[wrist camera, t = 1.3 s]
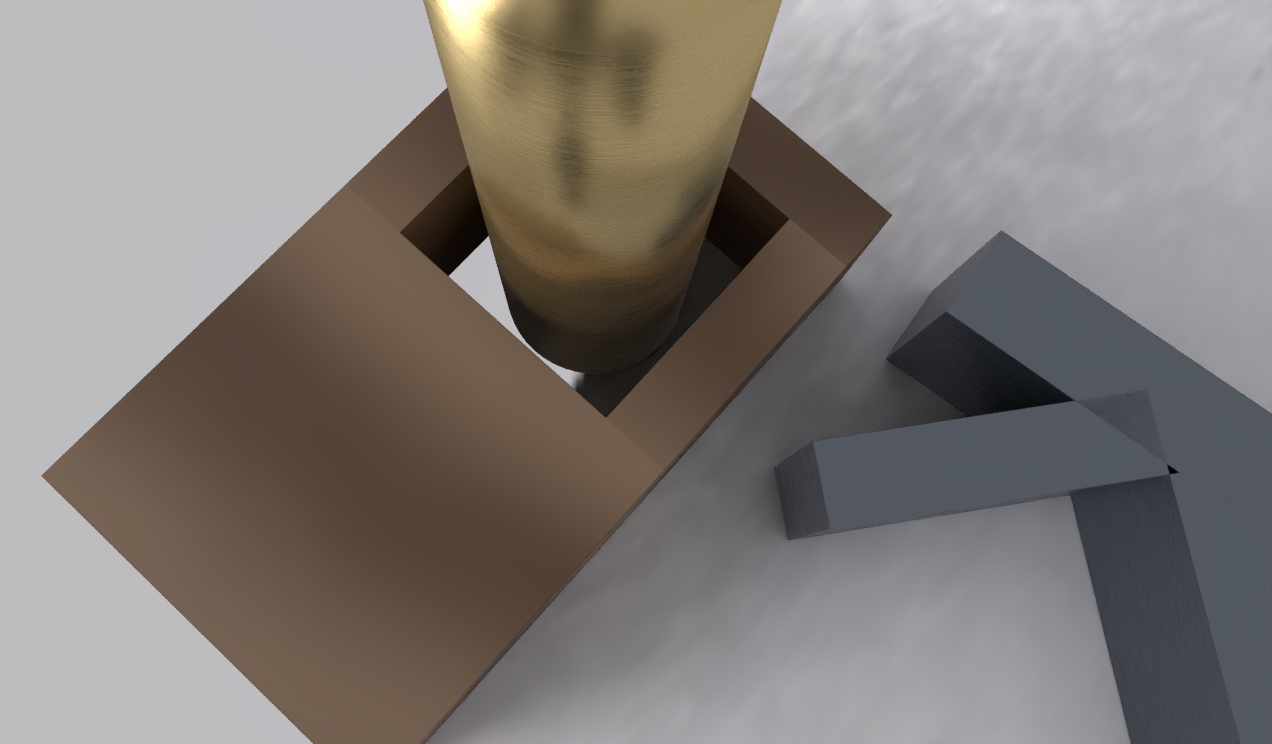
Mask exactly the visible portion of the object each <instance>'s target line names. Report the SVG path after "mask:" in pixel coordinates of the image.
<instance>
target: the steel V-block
mask: <svg viewBox="0 0 1272 744" xmlns="http://www.w3.org/2000/svg"><path fill="white" fill-rule="evenodd" d="M886 359H888V360H889V361H891V362H892V363H894V364H895V365H896V366H898V367H899V368H901V369H902V370H904V371H905V372H906V373H908V374H909V375H911V376H912V377H914V378H915V379H916V380H918V381H919V382H921V383H922V384H924V385H925V386H926V387H928V388H929V389H931V390H932V391H934V392H935V393H936V394H938V395H939V396H941V397H942V398H944V399H945V400H946V401H948V402H949V403H951V404H952V405H954V406H955V407H956V408H958V409H959V410H961V411H962V412H964V413H965V414H967V415H968V416H969V417H967V418H960V419H954V420H947V421H941V422H934V423H928V424H921V425H915V426H908V427H902V428H895V429H889V430H882V431H876V432H869V433H863V434H856V435H850V436H843V437H837V438H830V439H824V440H817V441H813V442H811V443H810V444H808V445H807V446H805V447H804V448H802V449H801V450H799V451H798V452H796V453H795V454H793V455H792V456H791V457H789V458H788V459H786V460H785V461H783V462H782V463H780V464H779V465H777V466H776V467H775V472H776V478H777V483H778V488H779V494H780V499H781V504H782V510H783V515H784V520H785V526H786V531H787V537H788V540H793V539H799V538H805V537H812V536H818V535H824V534H830V533H836V532H843V531H849V530H855V529H861V528H867V527H874V526H880V525H886V524H892V523H898V522H905V521H911V520H917V519H923V518H929V517H936V516H942V515H948V514H954V513H961V512H967V511H973V510H979V509H985V508H992V507H998V506H1004V505H1010V504H1016V503H1023V502H1029V501H1035V500H1041V499H1047V498H1054V497H1060V496H1066V495H1071V498H1072V502H1073V506H1074V510H1075V515H1076V519H1077V523H1078V527H1079V531H1080V535H1081V539H1082V543H1083V547H1084V552H1085V556H1086V560H1087V564H1088V568H1089V572H1090V576H1091V580H1092V584H1093V588H1094V593H1095V597H1096V601H1097V605H1098V609H1099V613H1100V617H1101V621H1102V625H1103V630H1104V634H1105V638H1106V642H1107V646H1108V650H1109V654H1110V658H1111V662H1112V667H1113V671H1114V675H1115V679H1116V683H1117V687H1118V691H1119V695H1120V699H1121V704H1122V708H1123V712H1124V716H1125V720H1126V724H1127V728H1128V732H1129V736H1130V740H1131V744H1272V414H1271V413H1270V412H1268V411H1267V410H1265V409H1264V408H1262V407H1261V406H1259V405H1258V404H1256V403H1255V402H1253V401H1252V400H1251V399H1249V398H1248V397H1246V396H1245V395H1243V394H1242V393H1240V392H1239V391H1237V390H1236V389H1234V388H1233V387H1231V386H1230V385H1228V384H1227V383H1225V382H1224V381H1223V380H1221V379H1220V378H1218V377H1217V376H1215V375H1214V374H1212V373H1211V372H1209V371H1208V370H1206V369H1205V368H1203V367H1202V366H1200V365H1199V364H1197V363H1196V362H1195V361H1193V360H1192V359H1190V358H1189V357H1187V356H1186V355H1184V354H1183V353H1181V352H1180V351H1178V350H1177V349H1175V348H1174V347H1172V346H1171V345H1169V344H1168V343H1166V342H1165V341H1164V340H1162V339H1161V338H1159V337H1158V336H1156V335H1155V334H1153V333H1152V332H1150V331H1149V330H1147V329H1146V328H1144V327H1143V326H1141V325H1140V324H1138V323H1137V322H1136V321H1134V320H1133V319H1131V318H1130V317H1128V316H1127V315H1125V314H1124V313H1122V312H1121V311H1119V310H1118V309H1116V308H1115V307H1113V306H1112V305H1110V304H1109V303H1107V302H1106V301H1105V300H1103V299H1102V298H1100V297H1099V296H1097V295H1096V294H1094V293H1093V292H1091V291H1090V290H1088V289H1087V288H1085V287H1084V286H1082V285H1081V284H1079V283H1078V282H1077V281H1075V280H1074V279H1072V278H1071V277H1069V276H1068V275H1066V274H1065V273H1063V272H1062V271H1060V270H1059V269H1057V268H1056V267H1054V266H1053V265H1051V264H1050V263H1049V262H1047V261H1046V260H1044V259H1043V258H1041V257H1040V256H1038V255H1037V254H1035V253H1034V252H1032V251H1031V250H1029V249H1028V248H1026V247H1025V246H1023V245H1022V244H1020V243H1019V242H1018V241H1016V240H1015V239H1013V238H1012V237H1010V236H1009V235H1007V234H1006V233H1004V232H1003V231H1000V232H999V233H998V234H997V235H995V236H994V237H993V238H992V239H991V240H990V241H989V242H987V243H986V244H985V245H984V246H983V247H982V248H981V249H980V250H978V251H977V252H976V253H975V254H974V255H973V256H972V257H970V258H969V259H968V260H967V261H966V262H965V263H964V264H963V265H961V266H960V267H959V268H958V269H957V270H956V271H955V272H953V273H952V274H951V275H950V276H949V277H948V278H947V279H945V280H944V281H943V282H942V283H941V284H940V285H939V286H938V287H936V288H935V289H934V290H933V291H932V293H931V294H930V296H929V297H928V299H927V300H926V302H925V303H924V305H923V306H922V307H921V309H920V310H919V312H918V313H917V315H916V316H915V318H914V319H913V321H912V322H911V323H910V325H909V326H908V328H907V329H906V331H905V332H904V334H903V335H902V337H901V338H900V339H899V341H898V342H897V344H896V345H895V347H894V348H893V350H892V351H891V353H890V354H889V355H888V357H887V358H886Z"/></svg>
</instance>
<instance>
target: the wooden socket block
mask: <svg viewBox="0 0 1272 744" xmlns="http://www.w3.org/2000/svg"><path fill="white" fill-rule="evenodd" d="M891 216H892V214H890V213H889V212H888V211H887V210H886V209H884V208H883V207H882V206H881V205H880V204H878V203H877V202H876V201H875V200H874V199H872V198H871V197H870V196H869V195H868V194H866V193H865V192H864V191H863V190H862V189H860V188H859V187H858V186H857V185H856V184H854V183H853V182H852V181H851V180H850V179H848V178H847V177H846V176H845V175H844V174H843V173H841V172H840V171H839V170H838V169H837V168H835V167H834V166H833V165H832V164H831V163H829V162H828V161H827V160H826V159H825V158H823V157H822V156H821V155H820V154H819V153H817V152H816V151H815V150H814V149H813V148H811V147H810V146H809V145H808V144H807V143H805V142H804V141H803V140H802V139H801V138H800V137H798V136H797V135H796V134H795V133H794V132H792V131H791V130H790V129H789V128H788V127H786V126H785V125H784V124H783V123H782V122H780V121H779V120H778V119H777V118H776V117H774V116H773V115H772V114H771V113H770V112H768V111H767V110H766V109H765V108H764V107H762V106H761V105H760V104H759V103H758V102H756V101H755V100H754V99H753V98H752V97H750V100H749V103H748V106H747V109H746V112H745V115H744V118H743V121H742V124H741V127H740V130H739V134H738V137H737V140H736V143H735V146H734V149H733V152H732V155H731V158H730V161H729V164H728V167H727V170H726V173H725V176H724V180H723V183H722V186H721V189H720V192H719V195H718V198H717V201H716V204H715V207H714V210H713V213H712V216H711V219H710V222H709V226H708V229H707V232H706V235H705V237H706V238H708V239H709V240H710V241H711V242H712V243H713V244H715V245H716V246H717V247H718V248H719V249H720V250H722V251H723V252H724V253H725V254H726V255H727V256H728V257H730V258H731V259H732V260H733V261H734V262H735V263H737V264H738V265H739V266H740V267H741V268H742V269H743V270H742V271H741V272H740V273H739V274H738V276H737V277H736V278H735V279H734V280H733V281H732V282H731V283H730V284H729V285H728V286H727V287H726V289H725V290H724V291H723V292H722V293H721V294H720V295H719V296H718V297H717V298H716V299H715V300H714V302H713V303H712V304H711V305H710V306H709V307H708V308H707V309H706V310H705V311H704V312H703V313H702V315H701V316H700V317H699V318H698V319H697V320H696V321H695V322H694V323H693V324H692V325H691V326H690V328H689V329H688V330H687V331H686V332H685V333H684V334H683V335H682V336H681V337H680V338H679V339H678V341H677V342H676V343H675V344H674V345H673V346H672V347H671V348H670V349H669V350H668V351H667V352H666V354H665V355H664V356H663V357H662V358H661V359H660V360H659V361H658V362H657V363H656V364H655V365H654V367H653V368H652V369H651V370H650V371H649V372H648V373H647V374H646V375H645V376H644V377H643V378H642V380H641V381H640V382H639V383H638V384H637V385H636V386H635V387H634V388H633V389H632V390H631V391H630V393H629V394H628V395H627V396H626V397H625V398H624V399H623V400H622V401H621V402H620V403H619V404H618V406H617V407H616V408H615V409H614V410H613V411H612V412H611V413H610V414H609V415H608V416H607V417H606V418H605V417H604V416H603V415H602V414H601V413H600V412H599V411H598V410H596V409H595V408H594V407H593V406H592V405H591V404H590V403H589V402H588V401H586V400H585V399H584V398H583V397H582V396H581V395H580V394H579V393H578V392H576V391H575V390H574V389H573V388H572V387H571V386H570V385H569V384H568V383H566V382H565V381H564V380H563V379H562V378H561V377H560V376H559V375H557V374H556V373H555V372H554V371H553V370H552V369H551V368H550V367H549V366H547V365H546V364H545V363H544V362H543V361H542V360H541V359H540V358H539V357H537V356H536V355H535V354H534V353H533V352H532V351H531V350H530V349H528V348H527V347H526V346H525V345H524V344H523V343H522V342H521V341H520V340H519V339H517V338H516V337H515V336H514V335H513V334H512V333H511V332H510V331H509V330H507V329H506V328H505V327H504V326H503V325H502V324H501V323H500V322H499V321H497V320H496V319H495V318H494V317H493V316H492V315H491V314H490V313H489V312H487V311H486V310H485V309H484V308H483V307H482V306H481V305H479V303H477V302H476V301H475V300H474V299H473V298H472V297H471V296H470V295H468V294H467V293H466V292H465V291H464V290H463V289H462V288H461V287H460V286H458V285H457V284H456V283H455V282H454V281H453V280H452V279H451V278H450V277H448V276H449V275H450V274H451V273H452V272H453V271H454V270H455V269H456V268H457V267H458V266H459V265H460V264H461V263H462V262H463V261H464V260H465V259H466V258H467V257H468V256H469V255H470V254H471V253H472V252H473V251H474V250H475V249H476V248H477V247H478V246H479V245H480V244H481V243H482V242H483V241H484V240H485V239H486V238H487V237H488V236H489V234H488V231H487V227H486V224H485V220H484V217H483V213H482V209H481V206H480V202H479V199H478V195H477V191H476V188H475V184H474V181H473V177H472V173H471V170H470V166H469V163H468V159H467V156H466V152H465V148H464V145H463V141H462V138H461V134H460V130H459V127H458V123H457V120H456V116H455V112H454V109H453V105H452V102H451V98H450V95H449V91H448V87H447V89H445V90H444V91H443V92H442V93H441V94H440V95H439V96H438V97H437V98H436V99H435V100H434V101H433V102H432V103H431V104H430V105H429V106H428V107H426V108H425V109H424V110H423V111H422V112H421V113H420V114H419V115H418V116H417V117H416V118H415V119H414V120H413V121H412V122H411V123H410V124H409V125H408V126H407V127H406V128H404V129H403V130H402V131H401V132H400V133H399V134H398V135H397V136H396V137H395V138H394V139H393V140H392V141H391V142H390V143H389V144H388V145H387V146H386V147H385V148H384V149H382V150H381V151H380V152H379V154H377V155H376V156H375V157H374V158H373V159H372V160H371V161H370V162H369V163H368V164H367V165H366V166H365V167H364V168H363V169H362V170H361V171H359V172H358V173H357V174H356V175H355V176H354V177H353V178H352V179H351V180H350V181H349V182H348V183H347V184H346V185H345V186H344V187H343V188H342V189H341V190H340V191H339V192H338V193H337V194H335V195H334V196H333V197H332V198H331V199H330V200H329V201H328V202H327V203H326V204H325V205H324V206H323V207H322V208H321V209H320V210H319V211H318V212H317V213H316V214H314V215H313V216H312V217H311V218H310V219H309V220H308V221H307V222H306V223H305V224H304V225H303V226H302V227H301V228H300V229H299V230H298V231H297V232H296V233H295V234H294V235H293V236H291V237H290V238H289V239H288V241H286V242H285V243H284V244H283V245H282V246H281V247H280V248H279V249H278V250H277V251H276V252H275V253H274V254H273V255H272V256H271V257H270V258H269V259H268V260H266V261H265V262H264V263H263V264H262V265H261V266H260V267H259V268H258V269H257V270H256V271H255V272H254V273H253V274H252V275H251V276H250V277H249V278H248V279H247V280H245V282H243V283H242V284H241V285H240V286H239V287H238V288H237V289H236V290H235V291H234V292H233V293H232V294H231V295H230V296H229V297H228V298H227V299H226V300H225V301H224V302H222V303H221V304H220V305H219V306H218V307H217V308H216V309H215V310H214V311H213V312H212V313H211V314H210V315H209V316H208V317H207V318H206V319H205V320H204V321H203V322H202V323H200V324H199V325H198V326H197V327H196V328H195V329H194V330H193V331H192V332H191V333H190V334H189V335H188V336H187V337H186V338H185V339H184V340H183V341H182V342H181V343H180V344H179V345H177V346H176V347H175V348H174V349H173V350H172V351H171V352H170V353H169V354H168V355H167V356H166V357H165V358H164V359H163V360H162V361H161V362H160V363H159V364H158V365H157V366H156V367H155V368H153V370H151V371H150V372H149V373H148V374H147V375H146V376H145V377H144V378H143V379H142V380H141V381H140V382H139V383H138V384H137V385H136V386H135V387H134V388H133V389H132V390H130V391H129V392H128V393H127V394H126V395H125V396H124V397H123V398H122V399H121V400H120V401H119V402H118V403H117V404H116V405H115V406H114V407H113V408H112V409H111V410H109V412H107V413H106V414H105V415H104V416H103V417H102V418H101V419H100V420H99V421H98V422H97V423H96V424H95V425H94V426H93V427H92V428H91V429H90V430H89V431H88V432H86V433H85V434H84V435H83V436H82V438H80V439H79V440H78V441H77V442H76V443H75V444H74V445H73V446H72V447H71V448H70V449H69V450H68V451H67V452H66V453H65V454H63V455H62V456H61V457H60V458H59V459H58V460H57V461H56V462H55V463H54V464H53V465H52V466H51V467H50V468H49V469H48V470H47V471H46V472H45V473H44V474H43V475H42V477H43V478H44V479H45V480H46V481H47V482H48V483H49V484H50V485H51V486H52V487H53V488H54V489H55V490H56V491H57V492H58V493H59V494H60V495H61V496H62V497H63V498H64V499H65V500H66V501H67V502H69V504H71V505H72V506H73V507H74V508H75V509H76V510H77V511H78V512H79V513H80V514H81V515H82V516H83V517H84V518H85V519H86V520H87V521H88V522H89V523H90V524H91V525H92V526H93V527H94V528H95V529H96V530H97V531H98V532H99V533H100V534H101V535H102V536H103V537H104V538H105V539H106V540H107V541H108V542H109V543H110V544H111V545H113V547H114V548H115V549H116V550H117V551H118V552H119V553H120V554H121V555H122V556H123V557H124V558H125V559H126V560H127V561H128V562H130V564H131V565H132V566H133V567H134V568H135V569H137V570H138V571H139V572H140V573H141V574H142V575H143V576H144V577H145V578H146V579H147V580H148V581H149V582H150V583H151V584H152V585H153V586H154V587H155V588H156V589H157V590H158V591H159V592H160V593H161V594H162V595H163V596H164V597H165V598H166V599H167V600H168V601H169V602H170V603H171V604H172V605H173V606H174V607H175V608H176V609H177V610H178V611H179V612H180V613H181V614H182V615H183V616H184V617H185V618H186V619H187V620H188V621H189V622H190V623H191V624H192V625H193V626H194V627H195V628H196V629H197V630H198V631H199V632H201V634H202V635H204V636H205V637H206V638H207V639H208V640H209V641H210V642H211V643H212V644H213V645H214V646H215V647H216V648H217V649H218V650H219V651H220V652H221V653H222V654H223V655H224V656H225V657H226V658H227V659H228V660H229V661H230V662H231V663H232V664H233V665H234V666H235V667H236V668H237V669H238V670H239V671H240V672H241V673H242V674H243V675H244V676H245V677H246V678H247V679H248V680H249V681H250V682H251V683H252V684H253V685H254V686H255V687H256V688H257V689H258V690H259V691H260V692H262V694H263V695H264V696H266V697H267V699H268V700H269V701H271V702H272V703H273V704H274V705H275V706H276V707H277V708H278V709H279V710H280V711H281V712H282V713H283V714H284V715H285V716H286V717H287V718H288V719H289V720H290V721H291V722H292V723H293V724H294V725H295V726H296V727H297V728H298V729H299V730H300V731H301V732H302V733H303V734H304V735H305V736H306V737H307V738H308V739H309V740H310V741H311V742H312V743H313V744H425V743H426V742H427V741H428V740H429V738H430V737H431V736H432V735H433V734H434V733H435V732H436V731H437V729H438V728H439V727H440V726H441V725H442V724H443V723H444V722H445V721H446V719H447V718H448V717H449V716H450V715H451V714H452V713H453V712H454V710H455V709H456V708H457V707H458V706H459V705H460V704H461V703H462V702H463V700H464V699H465V698H466V697H467V696H468V695H469V694H470V693H471V692H472V690H473V689H474V688H475V687H476V686H477V685H478V684H479V683H480V681H481V680H482V679H483V678H484V677H485V676H486V675H487V674H488V673H489V671H490V670H491V669H492V668H493V667H494V666H495V665H496V664H497V662H498V661H499V660H500V659H501V658H502V657H503V656H504V655H505V654H506V652H507V651H508V650H509V649H510V648H511V647H512V646H513V645H514V644H515V642H516V641H517V640H518V639H519V638H520V637H521V636H522V635H523V633H524V632H525V631H526V630H527V629H528V628H529V627H530V626H531V625H532V623H533V622H534V621H535V620H536V619H537V618H538V617H539V616H540V614H541V613H542V612H543V611H544V610H545V609H546V608H547V607H548V606H549V604H550V603H551V602H552V601H553V600H554V599H555V598H556V597H557V596H558V594H559V593H560V592H561V591H562V590H563V589H564V588H565V587H566V585H567V584H568V583H569V582H570V581H571V580H572V579H573V578H574V577H575V575H576V574H577V573H578V572H579V571H580V570H581V569H582V568H583V566H584V565H585V564H586V563H587V562H588V561H589V560H590V559H591V558H592V556H593V555H594V554H595V553H596V552H597V551H598V550H599V549H600V548H601V546H602V545H603V544H604V543H605V542H606V541H607V540H608V539H609V537H610V536H611V535H612V534H613V533H614V532H615V531H616V530H617V529H618V527H619V526H620V525H621V524H622V523H623V522H624V521H625V520H626V518H627V517H628V516H629V515H630V514H631V513H632V512H633V511H634V510H635V508H636V507H637V506H638V505H639V504H640V503H641V502H642V501H643V499H644V498H645V497H646V496H647V495H648V494H649V493H650V492H651V491H652V489H653V488H654V487H655V486H656V485H657V484H658V483H659V482H660V481H661V479H662V478H663V477H664V476H665V475H666V474H667V473H668V472H669V470H670V469H671V468H672V467H673V466H674V465H675V464H676V463H677V462H678V460H679V459H680V458H681V457H682V456H683V455H684V454H685V453H686V451H687V450H688V449H689V448H690V447H691V446H692V445H693V444H694V443H695V441H696V440H697V439H698V438H699V437H700V436H701V435H702V434H703V433H704V431H705V430H706V429H707V428H708V427H709V426H710V425H711V424H712V422H713V421H714V420H715V419H716V418H717V417H718V416H719V415H720V414H721V412H722V411H723V410H724V409H725V408H726V407H727V406H728V405H729V403H730V402H731V401H732V400H733V399H734V398H735V397H736V396H737V395H738V393H739V392H740V391H741V390H742V389H743V388H744V387H745V386H746V385H747V383H748V382H749V381H750V380H751V379H752V378H753V377H754V376H755V374H756V373H757V372H758V371H759V370H760V369H761V368H762V367H763V366H764V364H765V363H766V362H767V361H768V360H769V359H770V358H771V357H772V355H773V354H774V353H775V352H776V351H777V350H778V349H779V348H780V347H781V345H782V344H783V343H784V342H785V341H786V340H787V339H788V338H789V337H790V335H791V334H792V333H793V332H794V331H795V330H796V329H797V328H798V326H799V325H800V324H801V323H802V322H803V321H804V320H805V319H806V318H807V316H808V315H809V314H810V313H811V312H812V311H813V310H814V309H815V307H816V306H817V305H818V304H819V303H820V302H821V301H822V300H823V299H824V297H825V296H826V295H827V294H828V293H829V292H830V291H831V290H832V289H833V287H834V286H835V285H836V284H837V283H838V282H839V281H840V280H841V278H842V277H843V276H844V275H845V274H846V272H847V271H848V270H849V269H850V267H851V266H852V265H853V264H854V262H855V261H856V260H857V259H858V257H859V256H860V255H861V254H862V252H863V251H864V250H865V249H866V247H867V246H868V245H869V244H870V242H871V241H872V240H873V239H874V237H875V236H876V235H877V234H878V232H879V231H880V230H881V229H882V227H883V226H884V225H885V224H886V222H887V221H888V220H889V219H890V217H891Z"/></svg>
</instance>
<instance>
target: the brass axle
mask: <svg viewBox="0 0 1272 744" xmlns="http://www.w3.org/2000/svg"><path fill="white" fill-rule="evenodd" d="M423 1H424V5H425V8H426V12H427V16H428V19H429V23H430V26H431V30H432V34H433V37H434V41H435V44H436V48H437V51H438V55H439V59H440V62H441V66H442V69H443V73H444V77H445V80H446V84H447V87H448V91H449V95H450V98H451V102H452V105H453V109H454V112H455V116H456V120H457V123H458V127H459V130H460V134H461V138H462V141H463V145H464V148H465V152H466V156H467V159H468V163H469V166H470V170H471V173H472V177H473V181H474V184H475V188H476V191H477V195H478V199H479V202H480V206H481V209H482V213H483V217H484V220H485V224H486V227H487V231H488V234H489V238H490V241H491V245H492V249H493V252H494V256H495V260H496V263H497V267H498V270H499V274H500V278H501V281H502V285H503V288H504V292H505V295H506V299H507V303H508V306H509V310H510V313H511V316H512V318H513V321H514V323H515V325H516V327H517V329H518V331H519V332H520V334H521V335H522V337H523V338H524V339H525V341H526V342H527V343H528V344H529V345H530V346H531V347H532V348H533V349H534V350H535V351H536V352H537V353H538V354H540V355H541V356H542V357H544V358H545V359H547V360H548V361H550V362H552V363H554V364H556V365H558V366H560V367H563V368H565V369H569V370H572V371H576V372H582V373H594V374H601V373H610V372H615V371H619V370H623V369H626V368H628V367H631V366H633V365H635V364H637V363H639V362H641V361H643V360H644V359H646V358H647V357H648V356H650V355H651V354H653V353H654V352H655V351H656V350H657V349H658V348H659V347H660V346H661V345H662V344H663V343H664V341H665V340H666V339H667V338H668V337H669V335H670V333H671V332H672V330H673V328H674V327H675V324H676V322H677V320H678V317H679V315H680V311H681V308H682V305H683V302H684V299H685V296H686V293H687V290H688V287H689V284H690V281H691V278H692V275H693V272H694V269H695V265H696V262H697V259H698V256H699V253H700V250H701V247H702V244H703V241H704V238H705V235H706V232H707V229H708V226H709V222H710V219H711V216H712V213H713V210H714V207H715V204H716V201H717V198H718V195H719V192H720V189H721V186H722V183H723V180H724V176H725V173H726V170H727V167H728V164H729V161H730V158H731V155H732V152H733V149H734V146H735V143H736V140H737V137H738V134H739V130H740V127H741V124H742V121H743V118H744V115H745V112H746V109H747V106H748V103H749V100H750V97H751V94H752V91H753V87H754V84H755V81H756V78H757V75H758V72H759V69H760V66H761V63H762V60H763V57H764V54H765V51H766V48H767V45H768V41H769V38H770V35H771V32H772V29H773V26H774V23H775V20H776V17H777V14H778V11H779V8H780V5H781V2H782V0H423Z"/></svg>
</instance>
